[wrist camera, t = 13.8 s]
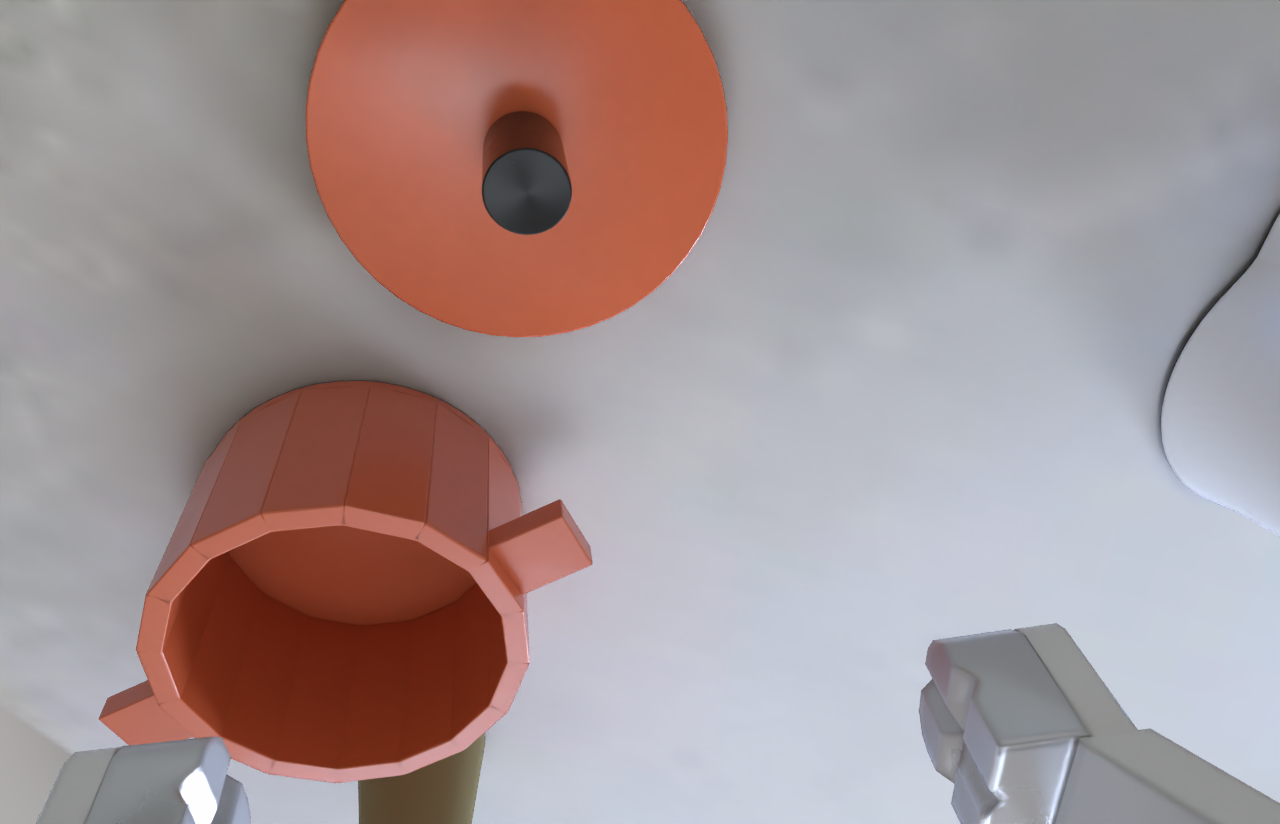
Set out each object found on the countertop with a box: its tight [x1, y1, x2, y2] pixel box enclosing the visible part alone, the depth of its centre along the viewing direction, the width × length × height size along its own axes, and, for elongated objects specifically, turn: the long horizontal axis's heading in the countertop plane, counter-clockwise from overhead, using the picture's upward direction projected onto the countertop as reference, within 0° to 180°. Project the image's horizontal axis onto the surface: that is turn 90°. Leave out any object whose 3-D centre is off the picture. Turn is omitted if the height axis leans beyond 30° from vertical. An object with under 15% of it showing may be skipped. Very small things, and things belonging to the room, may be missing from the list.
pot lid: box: [306, 0, 728, 337], centre depth 30 cm, size 14×14×5 cm
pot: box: [99, 381, 592, 783], centre depth 36 cm, size 13×18×8 cm
